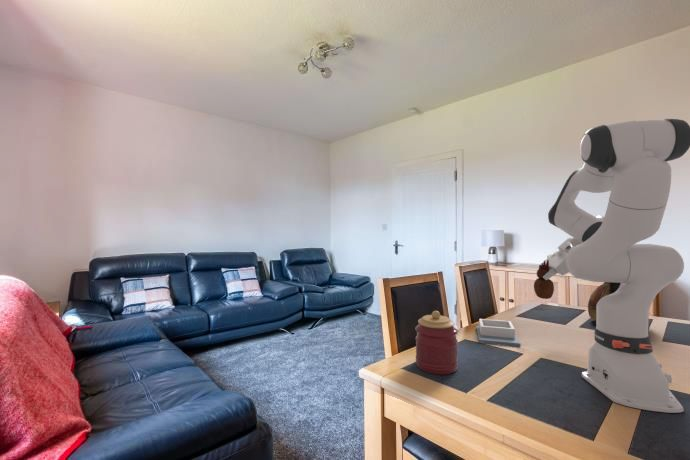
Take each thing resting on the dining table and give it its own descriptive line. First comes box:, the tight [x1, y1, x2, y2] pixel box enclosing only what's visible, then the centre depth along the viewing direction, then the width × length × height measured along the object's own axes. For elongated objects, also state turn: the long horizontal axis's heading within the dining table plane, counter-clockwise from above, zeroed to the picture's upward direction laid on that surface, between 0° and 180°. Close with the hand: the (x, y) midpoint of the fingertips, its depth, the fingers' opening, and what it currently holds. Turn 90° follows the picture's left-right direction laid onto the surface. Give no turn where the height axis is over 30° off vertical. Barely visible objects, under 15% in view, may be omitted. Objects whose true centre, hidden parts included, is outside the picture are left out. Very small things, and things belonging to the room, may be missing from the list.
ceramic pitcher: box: [587, 282, 621, 321], centre depth 142 cm, size 20×20×30 cm
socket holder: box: [476, 318, 521, 348], centre depth 129 cm, size 18×14×5 cm
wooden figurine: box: [533, 259, 555, 300], centre depth 125 cm, size 7×6×15 cm
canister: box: [415, 310, 459, 375], centre depth 103 cm, size 13×13×18 cm
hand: (541, 277), depth 125 cm, fingers closed on wooden figurine, 5 cm apart
